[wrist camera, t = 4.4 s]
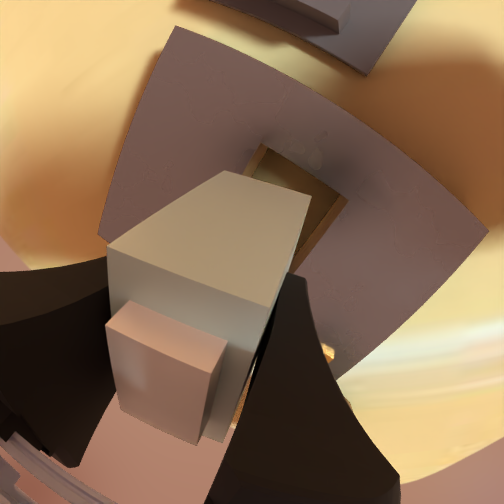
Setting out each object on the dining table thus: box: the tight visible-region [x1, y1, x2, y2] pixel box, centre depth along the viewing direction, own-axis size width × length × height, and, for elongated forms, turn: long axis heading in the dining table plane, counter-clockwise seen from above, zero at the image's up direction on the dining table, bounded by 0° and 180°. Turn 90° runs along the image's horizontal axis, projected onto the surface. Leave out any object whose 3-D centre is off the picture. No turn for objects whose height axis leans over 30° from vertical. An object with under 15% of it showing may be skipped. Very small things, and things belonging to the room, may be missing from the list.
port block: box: [98, 26, 489, 380], centre depth 15 cm, size 16×12×3 cm
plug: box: [105, 170, 312, 446], centre depth 8 cm, size 3×5×7 cm, turn 167°
